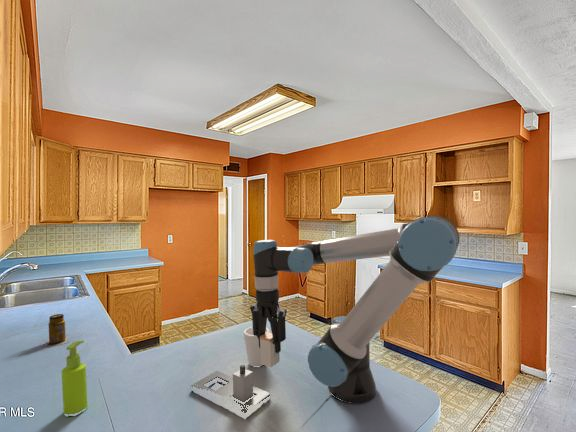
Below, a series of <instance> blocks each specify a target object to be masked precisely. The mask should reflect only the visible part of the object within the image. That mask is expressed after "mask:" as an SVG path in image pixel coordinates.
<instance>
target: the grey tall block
mask: <svg viewBox="0 0 576 432" xmlns="http://www.w3.org/2000/svg"><path fill="white" fill-rule="evenodd" d="M232 377H233V397H234V398H236V399H238V400H240V401H242V402H245V401H246V400H248V399H249V398H251V397H252V396H253V386H254V380H253V379H254V375H253V371H251V370H250V369H246V365H244V364H241V365H239V369H238V370H237V371H235V372H233V373H232Z"/></svg>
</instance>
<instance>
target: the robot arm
mask: <svg viewBox="0 0 576 432" xmlns="http://www.w3.org/2000/svg"><path fill="white" fill-rule="evenodd" d="M277 243H278V242H277V241H276V240H274V239H262V240H257V241H255V242H254V243H253V267H254V288H255V289H256V290H255V301H256V303H255V304H253V305H250V307H249V308H250V312H251V319H252V320H251V321H252V327H253V335H254V336H257V337H258V339H259V348H260V336H262V335H263V334H265V331H266V327H267V322H269V324H270V330H271V333H272V336H273V341H274V342H272V360H273V364H275V363H276V362H278V361H279V362H280V358H281V357H280V352H282V351H281V350H282V349H281V347H282V345H281V343H283V342H284V341H286V339H287V333H286V332H287V331H286V328H287V327H286V316H287V312H288V311H287V310H286V309H282V308H281V307H280V305H279V299H280V289H279V288H278V287H279V272H284V273H285V272H286V273H294V274H306V273H309V272H310V271H311V270H312V268H313V266H315V265H323V264H330V263H338V262H346V261H355V260H362V259H363V260H365V259H373V258H383V257H389V258H390V259H389V262H388V263H386V265H385V267H384V268H383V269H382V271H380V273H379V274H378V275H377V277H376V278H375V279H374V281H372V283H371V284H370V285H369V286H368V288H367V289H366V291H365V292H364V293H363V295H362V296H361V297H360V298H359V299H358V301H357V302H356V303H355V304H354V306H353V307H352V308H351V310H350V311H349V312H348V313H347V314H346V315H342V316H341V315H340V316H336V317H334V318H332V322H331V326H330V327H329V328H328V329H327V331H326V332H325V333H324V335H323V336H322V337H321V338H320V339H319V340H318V342H317V343H315V344H314V345H312V346H311V349H310V350H309V351H308V354H307V363H308V367H309V371H310V372H311V374H312V376H314V378H315V379H316V380H317V381H318V382H319V383H321V384H323V386H327V390H328V389H329V390H328V391H329V393H330V392H331V393H332V394H333V395H334V396H335V397H337V398H339V399H341V400H343V401H346V402H351V403H350V404H354V403H357V404H364V403H367V402H369V401H371V400H373V399H374V398H375V396H376V394H377V393H376V392H377V391H376V389H377V387H376V386H377V385H376V381H375V379H374V376H373V372H372V370H371V367H370V365H371V364H370V362H371V361H370V341H372V339H373V338H374V337H375V335H377V334H378V332H379V331H380V330H381V329H382V327H383V326H385V324H386V323H387V322H388V321H389V320H390V318H391V317H393V315H394V314H395V312H396V311H397V310H398V309H399V308H400V307H401V306H402V304H403V303H404V302H405V301H406V300H407V298H408V297H409V296H410V295H411V294H412V293H413V292H414V290H416V288H417V287H418V286H419V285H420V284H422V283H430V282H432V280H433V279H434V278H435V277H436V276H437V275H438V274H439V272H440V271H441V270H442V269H443V268H444V267H445V266H448V264H450V263H451V261H452V260H453V258H454V257H455V255H456V253H457V250H458V247H459V244H460V234H459V231H458V228H457V227H456V225H455V224H454V223H453V222H452V221H451V220H450V219H448V218H446V217H444V216H441V215H429V216H424V217H419V218H416V219H414V220H412V221H410V222H408V223H402V224H401V226H400V227H398V228H391V229H386V230H380V231H373V232H368V233H367V232H366V233H361V234H356V235H355V234H354V235H349V236H344V237H343V236H342V237H337V238H331V239H325V240H319V241H316V240H315V241H311V242H308V243H305V244H299V245H295V246H289V247H288V246H287V247H286V246H283V247H281V246H278V244H277ZM260 353H261V350H260ZM279 362H278V363H279ZM331 393H330V394H331ZM335 397H334V398H335ZM343 401H342V402H343ZM346 402H345V403H346Z"/></svg>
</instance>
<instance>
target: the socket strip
mask: <svg viewBox="0 0 576 432" xmlns="http://www.w3.org/2000/svg"><path fill="white" fill-rule="evenodd" d="M217 377H218V378H220V379H222V380H224V381H226V382H228V383H227V384H226V385H224V386H223V387H221V388H219V389H218V390H216V391H215V390H213V389H211V388H209V387H206V386H204V384H206V383H208V382H210V381H212V380H213V379H215V378H217ZM195 384H196V385H195ZM197 385H198V386H197ZM191 386H192V387H193V386H194V387H196V388H198V389H200V388H201V389H202V390H203V389H206V390H207V391H208V390H210V391H211V392H212V391H213V392H214V393H215V394H217V393H218V395H221V396H228V397H231V396H233V376H230V375H228V374H226V373H224V372H221V371H219V370H216V371H214V372H212V373H210V374H208V375H207V376H205V377H204V378H202V379H200V380H198V381H196V382H195V383H193V384H191V385H190V387H191ZM253 394H254V395H256V396H254V397H253V398H252V399H250V400H249V401H248V402H246V403H245V404H244V405H245V407H244V405H243V404H241V403H239V402H238V404H240V406H241V405H242V406H243V408H244V409H242V410H241V411H242V412H243V411H244V413H246V412H247V410H248V409H247V408H246V405H249V406H250V405H254V406H255V405H256V404H258V403H260V402H261V401H263V400H264V399H266V398H267V397H269V396H270V397H271V393H270V392H268V391H265V390H264V389H261V388H259V387H256V386H254V385H253ZM228 400H229V398H228ZM230 400H232V399H231V398H230ZM234 401H235V400H234ZM236 403H237V401H236ZM247 407H248V406H247ZM241 408H242V407H241ZM245 408H246V409H247V410H246V409H245Z"/></svg>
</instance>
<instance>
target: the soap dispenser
mask: <svg viewBox="0 0 576 432" xmlns="http://www.w3.org/2000/svg"><path fill="white" fill-rule="evenodd" d="M84 342H85V340H76V341H73V342H72V343H70V344H69V345H68V346H66V350H68V351H69V355H67V356H66V358H65V359H66V361H65V362H66V366H65V367H63V368H62V370H61V382H62V383H61V385H62V406H63V407H62V408H63V409H62V410H63V415H64V414H68V415H69V414H75V413H78V412H80V411H82V410H83V409H85V408H86V407H87V408H88V393H87V391H88V388H87V367H86V364H85V363H84V362H81V354H80V353H78V352H77V347H78V346H79V345H81V344H83V343H84Z"/></svg>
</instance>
